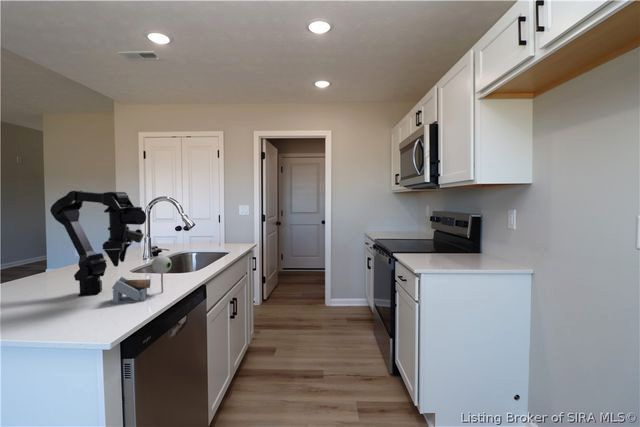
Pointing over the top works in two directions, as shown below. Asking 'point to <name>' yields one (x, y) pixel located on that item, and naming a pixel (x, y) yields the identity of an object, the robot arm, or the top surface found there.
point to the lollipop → (161, 266)
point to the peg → (138, 283)
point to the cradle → (127, 293)
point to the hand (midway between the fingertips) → (119, 264)
